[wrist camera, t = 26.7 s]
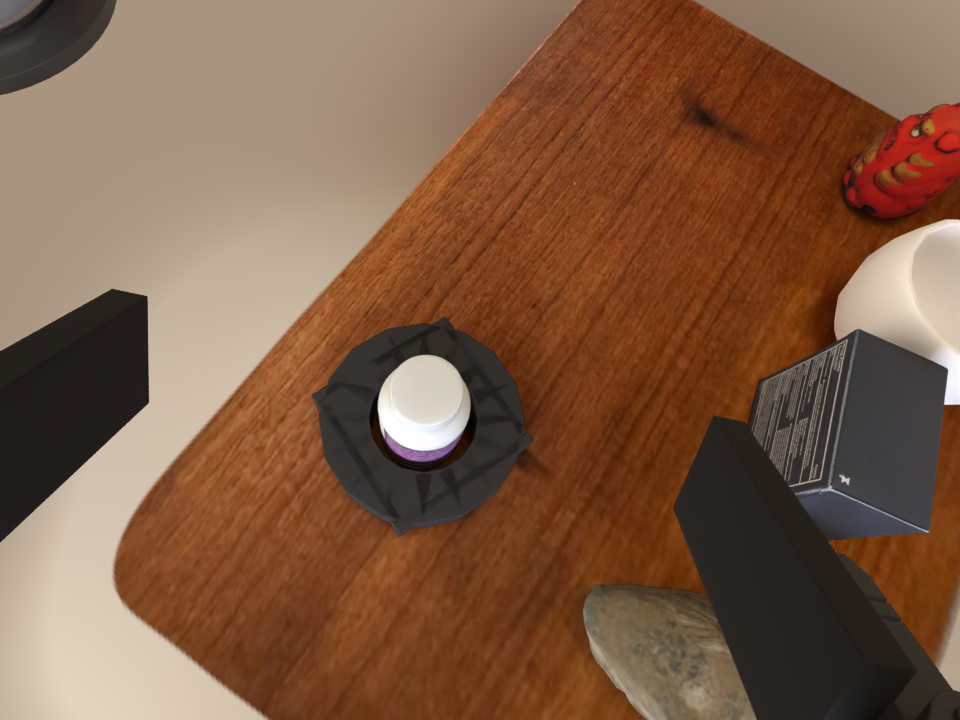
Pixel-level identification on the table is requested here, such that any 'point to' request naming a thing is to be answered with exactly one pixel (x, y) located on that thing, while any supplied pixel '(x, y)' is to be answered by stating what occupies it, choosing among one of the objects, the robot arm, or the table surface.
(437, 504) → the dark grey faceted ring
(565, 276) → the table surface
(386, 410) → the pill bottle
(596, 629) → the stone
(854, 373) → the small box
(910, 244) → the cup
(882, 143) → the red clay folk toy
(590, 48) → the table surface
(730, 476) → the robot arm
